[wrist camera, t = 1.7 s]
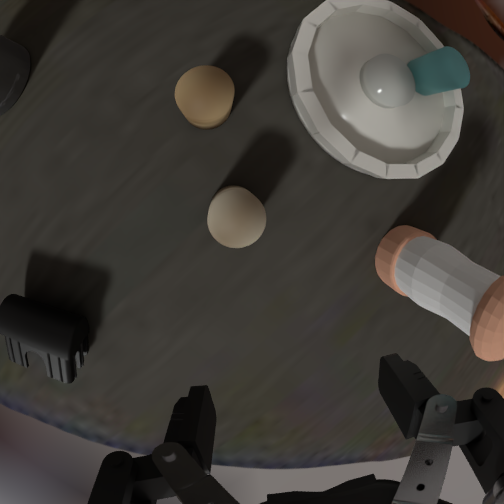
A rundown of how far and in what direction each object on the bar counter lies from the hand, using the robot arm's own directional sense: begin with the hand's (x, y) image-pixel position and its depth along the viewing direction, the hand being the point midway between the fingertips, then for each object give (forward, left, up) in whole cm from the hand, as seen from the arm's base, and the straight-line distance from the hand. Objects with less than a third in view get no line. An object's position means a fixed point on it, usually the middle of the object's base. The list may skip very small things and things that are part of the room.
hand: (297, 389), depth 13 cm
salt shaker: (+13, +11, -19) cm, 25 cm away
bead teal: (+1, +28, -17) cm, 33 cm away
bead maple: (-5, +3, -18) cm, 19 cm away
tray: (-2, +23, -18) cm, 29 cm away
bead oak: (-13, +9, -18) cm, 24 cm away
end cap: (-14, -20, -19) cm, 31 cm away
